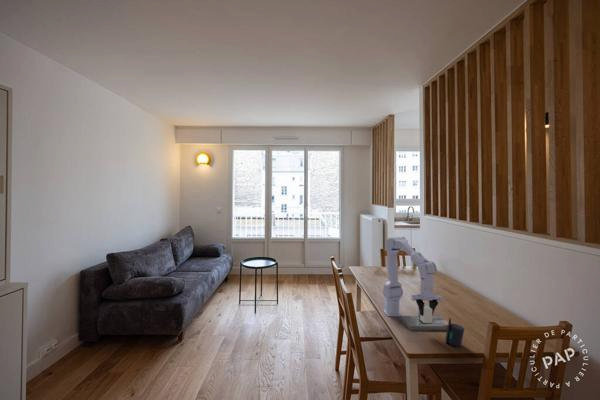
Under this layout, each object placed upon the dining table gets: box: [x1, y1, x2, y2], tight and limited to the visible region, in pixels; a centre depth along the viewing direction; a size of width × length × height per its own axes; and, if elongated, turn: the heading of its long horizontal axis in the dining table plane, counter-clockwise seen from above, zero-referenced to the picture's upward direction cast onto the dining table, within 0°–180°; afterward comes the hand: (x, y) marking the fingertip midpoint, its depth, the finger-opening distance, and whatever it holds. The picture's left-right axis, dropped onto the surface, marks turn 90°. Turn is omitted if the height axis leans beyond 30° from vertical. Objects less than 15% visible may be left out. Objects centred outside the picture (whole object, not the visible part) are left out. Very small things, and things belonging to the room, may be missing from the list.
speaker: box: [445, 317, 465, 348], centre depth 137 cm, size 8×6×10 cm
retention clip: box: [417, 304, 438, 317], centre depth 163 cm, size 12×2×6 cm, turn 106°
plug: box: [420, 306, 432, 324], centre depth 146 cm, size 4×4×6 cm
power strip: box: [400, 315, 449, 331], centre depth 157 cm, size 13×22×3 cm, turn 91°
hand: (426, 315), depth 146 cm, fingers closed on plug, 4 cm apart
